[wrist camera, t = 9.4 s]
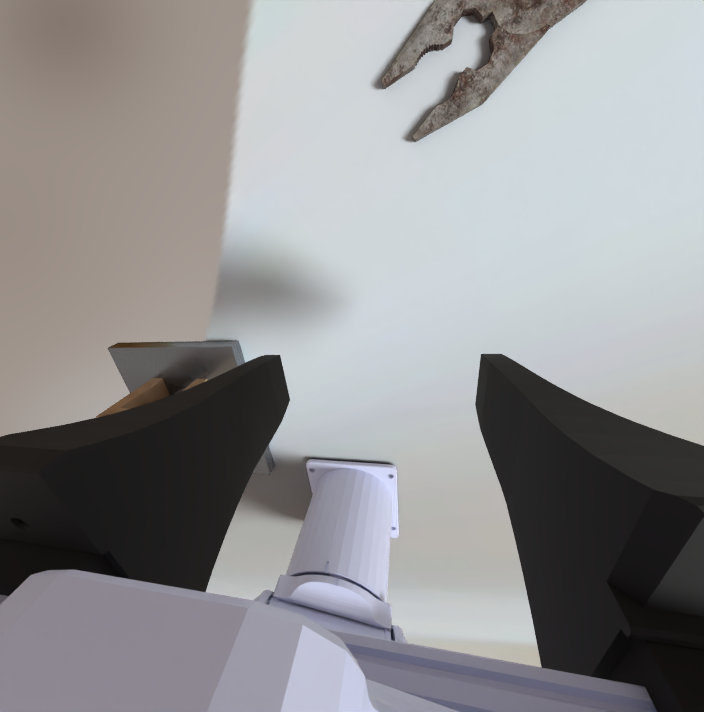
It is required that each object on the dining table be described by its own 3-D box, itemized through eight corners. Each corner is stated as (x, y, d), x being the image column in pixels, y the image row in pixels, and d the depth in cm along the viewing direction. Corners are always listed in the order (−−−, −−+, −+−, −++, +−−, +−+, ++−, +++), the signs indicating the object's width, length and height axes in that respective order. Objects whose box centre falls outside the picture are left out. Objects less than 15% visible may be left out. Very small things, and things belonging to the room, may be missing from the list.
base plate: (274, 466, 28) (257, 498, 25) (174, 458, 30) (147, 487, 27) (238, 341, 22) (211, 362, 19) (118, 342, 25) (76, 362, 21)
